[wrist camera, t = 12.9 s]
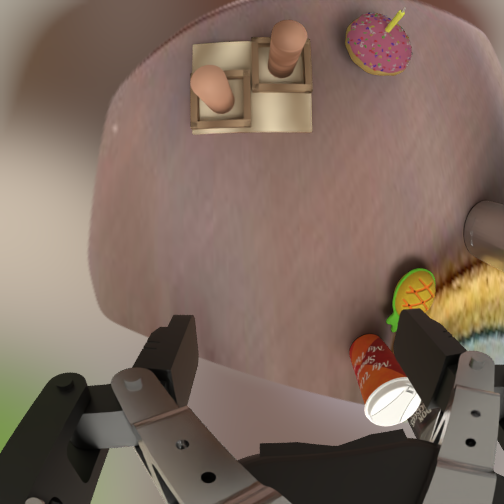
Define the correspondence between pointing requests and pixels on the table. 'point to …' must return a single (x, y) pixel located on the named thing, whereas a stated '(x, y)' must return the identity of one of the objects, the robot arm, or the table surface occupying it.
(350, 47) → the cupcake
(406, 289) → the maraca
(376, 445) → the robot arm
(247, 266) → the table surface
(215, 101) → the peg
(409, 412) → the paper cup
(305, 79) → the board
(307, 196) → the table surface
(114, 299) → the table surface
